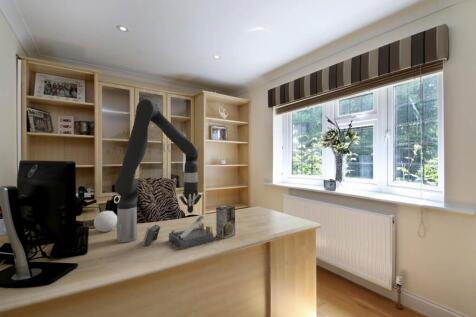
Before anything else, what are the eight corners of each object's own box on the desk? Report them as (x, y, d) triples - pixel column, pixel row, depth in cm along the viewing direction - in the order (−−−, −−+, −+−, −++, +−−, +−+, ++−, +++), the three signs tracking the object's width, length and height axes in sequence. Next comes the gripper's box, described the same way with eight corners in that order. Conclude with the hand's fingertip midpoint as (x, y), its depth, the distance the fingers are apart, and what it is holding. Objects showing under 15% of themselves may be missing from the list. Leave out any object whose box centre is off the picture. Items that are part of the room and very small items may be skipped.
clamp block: (180, 249, 109) (180, 235, 109) (168, 240, 121) (168, 227, 121) (213, 241, 120) (213, 227, 120) (199, 233, 132) (199, 221, 132)
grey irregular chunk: (150, 239, 123) (151, 222, 123) (159, 240, 123) (161, 223, 122) (141, 246, 114) (143, 227, 113) (152, 247, 113) (153, 228, 113)
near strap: (182, 239, 111) (181, 238, 111) (180, 238, 113) (179, 236, 113) (204, 218, 118) (203, 216, 118) (202, 217, 121) (200, 215, 120)
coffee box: (228, 232, 134) (227, 204, 134) (235, 235, 129) (235, 206, 129) (215, 236, 127) (215, 207, 127) (223, 239, 123) (223, 209, 123)
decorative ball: (121, 230, 138) (121, 210, 138) (99, 236, 128) (99, 214, 128) (111, 226, 145) (111, 207, 145) (90, 231, 135) (90, 211, 135)
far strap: (174, 234, 118) (174, 232, 118) (172, 233, 120) (172, 230, 120) (200, 229, 127) (200, 227, 127) (198, 227, 129) (198, 225, 129)
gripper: (182, 182, 118) (181, 215, 118) (204, 181, 126) (204, 212, 126) (176, 180, 124) (175, 212, 124) (198, 179, 132) (197, 209, 132)
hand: (190, 212), depth 125 cm, fingers closed
